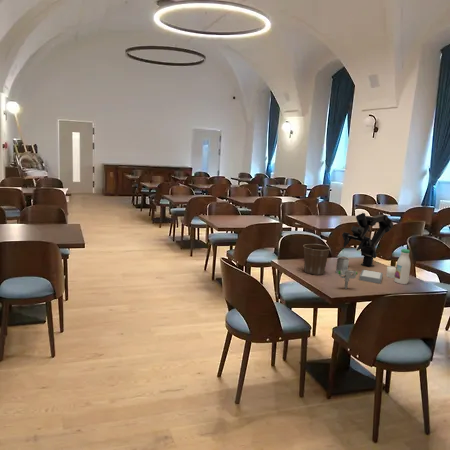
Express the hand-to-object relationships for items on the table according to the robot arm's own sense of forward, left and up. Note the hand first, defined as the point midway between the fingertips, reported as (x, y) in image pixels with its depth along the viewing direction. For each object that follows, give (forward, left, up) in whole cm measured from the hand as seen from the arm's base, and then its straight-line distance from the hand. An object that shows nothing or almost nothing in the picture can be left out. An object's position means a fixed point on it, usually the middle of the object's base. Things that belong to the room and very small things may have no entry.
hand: (350, 248), depth 274 cm
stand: (-1, +17, -15) cm, 22 cm away
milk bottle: (-12, +30, -15) cm, 35 cm away
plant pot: (+23, -7, -15) cm, 28 cm away
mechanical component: (+30, +23, -15) cm, 40 cm away
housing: (+8, +2, -15) cm, 17 cm away
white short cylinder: (-17, +20, -15) cm, 30 cm away
